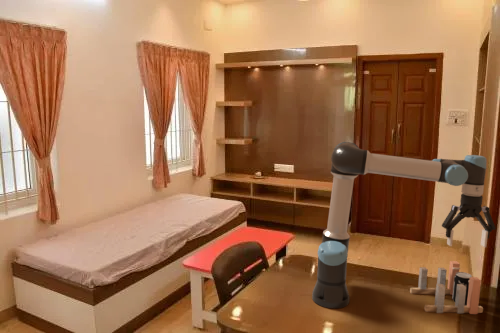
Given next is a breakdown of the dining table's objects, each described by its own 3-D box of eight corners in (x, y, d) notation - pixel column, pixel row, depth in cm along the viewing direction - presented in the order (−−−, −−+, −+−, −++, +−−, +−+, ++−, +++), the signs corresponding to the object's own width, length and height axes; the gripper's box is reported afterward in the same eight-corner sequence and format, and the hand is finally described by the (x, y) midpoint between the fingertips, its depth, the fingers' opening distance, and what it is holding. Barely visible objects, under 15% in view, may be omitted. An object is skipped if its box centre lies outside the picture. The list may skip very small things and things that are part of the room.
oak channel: (425, 311, 153) (426, 306, 153) (409, 291, 170) (410, 287, 169) (482, 312, 153) (483, 308, 153) (460, 292, 169) (461, 288, 169)
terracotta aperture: (470, 314, 152) (473, 280, 150) (447, 291, 170) (449, 261, 168) (477, 314, 152) (480, 280, 150) (453, 291, 170) (456, 261, 168)
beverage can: (473, 306, 158) (476, 278, 156) (457, 306, 158) (459, 278, 156) (464, 298, 164) (467, 271, 163) (449, 298, 165) (451, 271, 163)
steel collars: (436, 313, 152) (439, 286, 151) (417, 291, 171) (419, 267, 169) (463, 313, 152) (466, 287, 150) (441, 291, 170) (444, 267, 169)
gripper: (444, 195, 151) (439, 248, 154) (509, 197, 150) (503, 249, 154) (435, 191, 158) (431, 241, 161) (498, 193, 158) (492, 243, 161)
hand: (466, 245), depth 158 cm, fingers open, 13 cm apart
